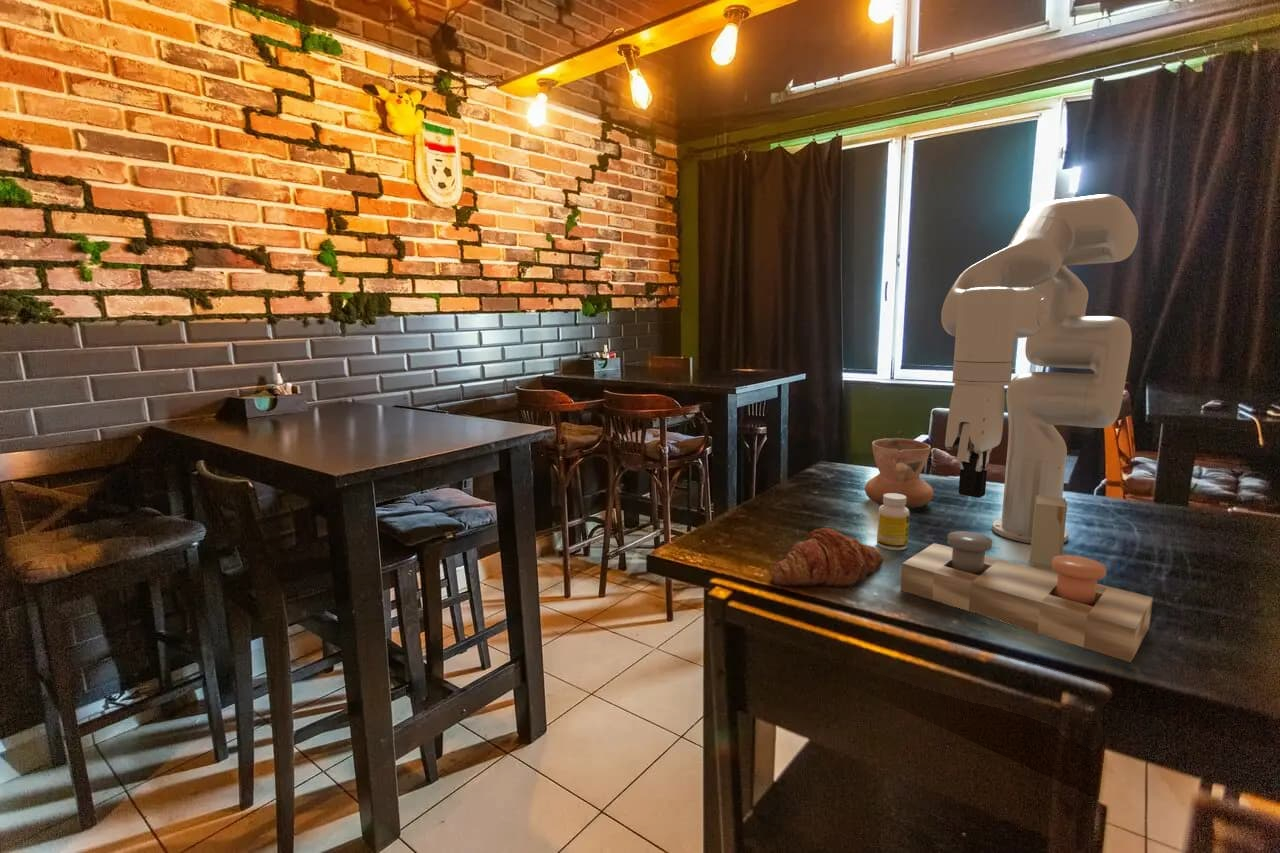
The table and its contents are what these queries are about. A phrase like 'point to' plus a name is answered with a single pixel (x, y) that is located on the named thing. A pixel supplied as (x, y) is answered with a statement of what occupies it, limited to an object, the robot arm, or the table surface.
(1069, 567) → the terracotta button
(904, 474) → the ceramic jug
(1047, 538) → the skincare box
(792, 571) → the pastry
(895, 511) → the supplement bottle
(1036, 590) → the button console
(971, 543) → the grey knob
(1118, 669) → the table surface
